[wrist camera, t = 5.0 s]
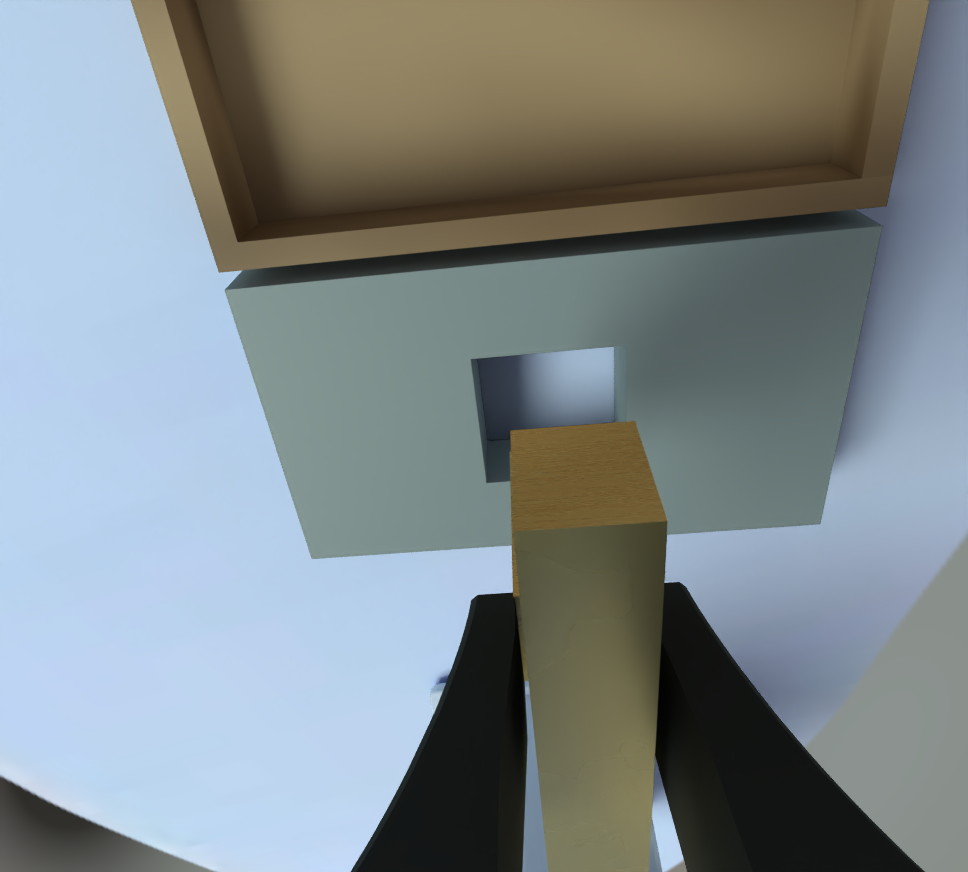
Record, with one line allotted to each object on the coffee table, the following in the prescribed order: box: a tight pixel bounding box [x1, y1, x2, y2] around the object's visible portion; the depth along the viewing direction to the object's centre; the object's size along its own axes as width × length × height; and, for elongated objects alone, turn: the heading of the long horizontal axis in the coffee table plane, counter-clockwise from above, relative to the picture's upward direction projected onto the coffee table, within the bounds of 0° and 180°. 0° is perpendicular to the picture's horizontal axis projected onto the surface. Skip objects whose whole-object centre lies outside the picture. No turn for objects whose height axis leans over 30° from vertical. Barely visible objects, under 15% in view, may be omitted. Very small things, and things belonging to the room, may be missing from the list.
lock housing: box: [225, 209, 882, 559], centre depth 18 cm, size 8×14×2 cm, turn 96°
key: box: [510, 421, 668, 872], centre depth 12 cm, size 2×8×6 cm, turn 6°
